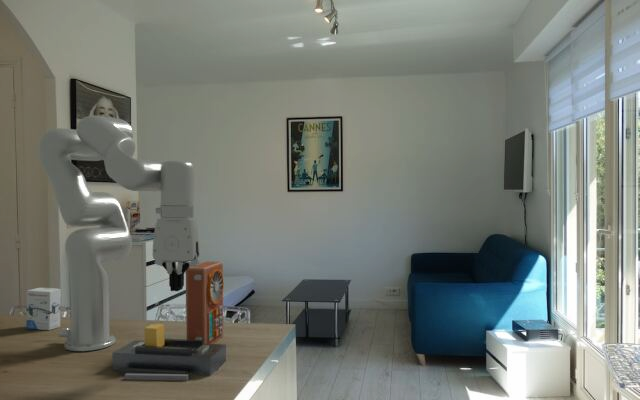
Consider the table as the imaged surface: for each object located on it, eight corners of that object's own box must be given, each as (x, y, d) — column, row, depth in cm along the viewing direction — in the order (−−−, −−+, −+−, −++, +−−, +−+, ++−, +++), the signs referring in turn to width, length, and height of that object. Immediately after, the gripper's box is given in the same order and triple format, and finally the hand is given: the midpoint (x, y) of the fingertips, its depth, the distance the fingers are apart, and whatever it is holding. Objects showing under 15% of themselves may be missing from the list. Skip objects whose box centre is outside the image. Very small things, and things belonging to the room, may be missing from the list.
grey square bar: (124, 379, 112) (124, 375, 112) (126, 377, 113) (126, 373, 113) (187, 380, 111) (186, 376, 111) (188, 378, 112) (188, 374, 112)
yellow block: (144, 349, 120) (144, 328, 120) (153, 344, 124) (152, 323, 124) (156, 349, 119) (156, 328, 119) (164, 344, 123) (164, 324, 123)
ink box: (25, 329, 154) (25, 290, 154) (38, 324, 159) (37, 287, 159) (49, 330, 152) (49, 291, 152) (61, 326, 157) (61, 288, 157)
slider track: (112, 369, 118) (112, 347, 118) (135, 356, 128) (134, 335, 128) (210, 375, 114) (210, 352, 114) (226, 360, 124) (225, 339, 124)
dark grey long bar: (118, 374, 115) (118, 369, 115) (121, 372, 116) (121, 367, 116) (184, 378, 112) (184, 373, 112) (187, 376, 114) (187, 371, 114)
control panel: (227, 335, 146) (205, 351, 132) (205, 333, 148) (180, 349, 133) (227, 261, 146) (205, 268, 131) (204, 260, 147) (180, 268, 133)
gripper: (139, 213, 118) (139, 291, 118) (200, 214, 115) (200, 295, 116) (155, 211, 125) (154, 285, 126) (213, 213, 123) (212, 288, 123)
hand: (176, 289), depth 121 cm, fingers closed
